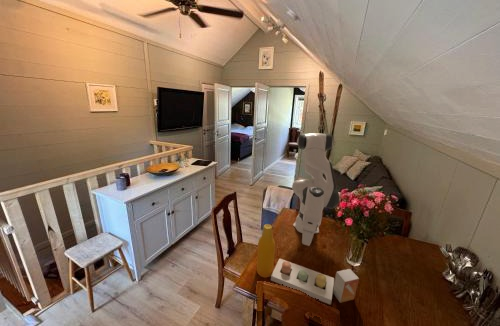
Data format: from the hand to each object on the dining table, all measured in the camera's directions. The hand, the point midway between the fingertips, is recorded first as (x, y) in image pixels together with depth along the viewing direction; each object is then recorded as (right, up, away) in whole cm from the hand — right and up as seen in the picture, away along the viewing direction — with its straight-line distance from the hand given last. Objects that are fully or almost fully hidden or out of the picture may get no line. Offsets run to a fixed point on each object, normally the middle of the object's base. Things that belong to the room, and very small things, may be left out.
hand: (308, 241), depth 109 cm
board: (-3, -22, +1) cm, 22 cm away
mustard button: (+5, -21, -3) cm, 22 cm away
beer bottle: (-22, -20, +7) cm, 31 cm away
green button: (-3, -21, +1) cm, 21 cm away
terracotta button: (-11, -18, +4) cm, 22 cm away
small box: (+15, -25, -6) cm, 30 cm away
